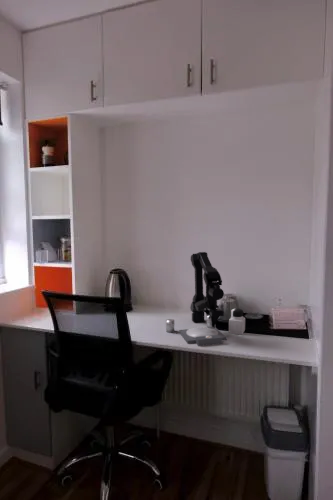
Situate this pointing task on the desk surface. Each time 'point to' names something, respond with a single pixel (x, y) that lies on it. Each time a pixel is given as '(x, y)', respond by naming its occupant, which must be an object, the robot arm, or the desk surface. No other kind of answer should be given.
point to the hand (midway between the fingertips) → (211, 325)
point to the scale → (203, 336)
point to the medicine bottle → (237, 322)
